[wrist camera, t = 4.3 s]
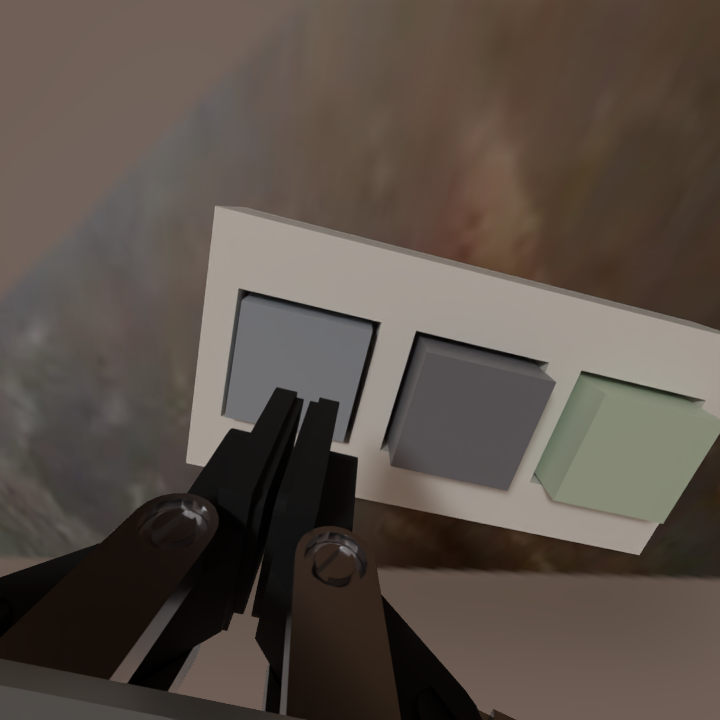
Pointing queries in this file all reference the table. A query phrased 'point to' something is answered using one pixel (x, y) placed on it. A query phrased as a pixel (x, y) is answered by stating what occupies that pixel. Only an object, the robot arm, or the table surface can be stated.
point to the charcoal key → (465, 411)
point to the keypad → (449, 320)
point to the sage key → (625, 448)
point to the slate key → (296, 357)
